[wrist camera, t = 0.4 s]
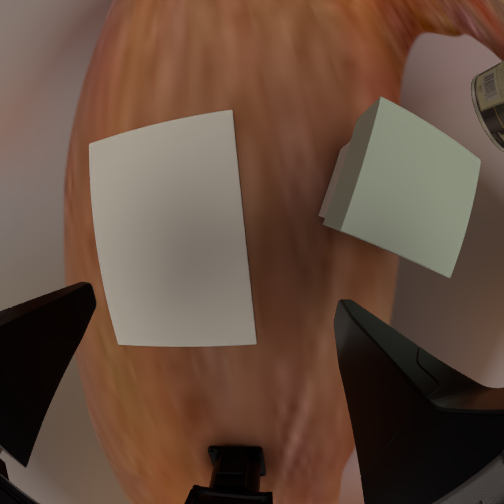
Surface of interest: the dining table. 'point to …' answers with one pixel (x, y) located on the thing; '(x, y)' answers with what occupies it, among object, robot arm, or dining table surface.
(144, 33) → the dining table surface
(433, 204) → the sticky note pad
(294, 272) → the dining table surface
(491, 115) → the coffee can
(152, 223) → the mat
